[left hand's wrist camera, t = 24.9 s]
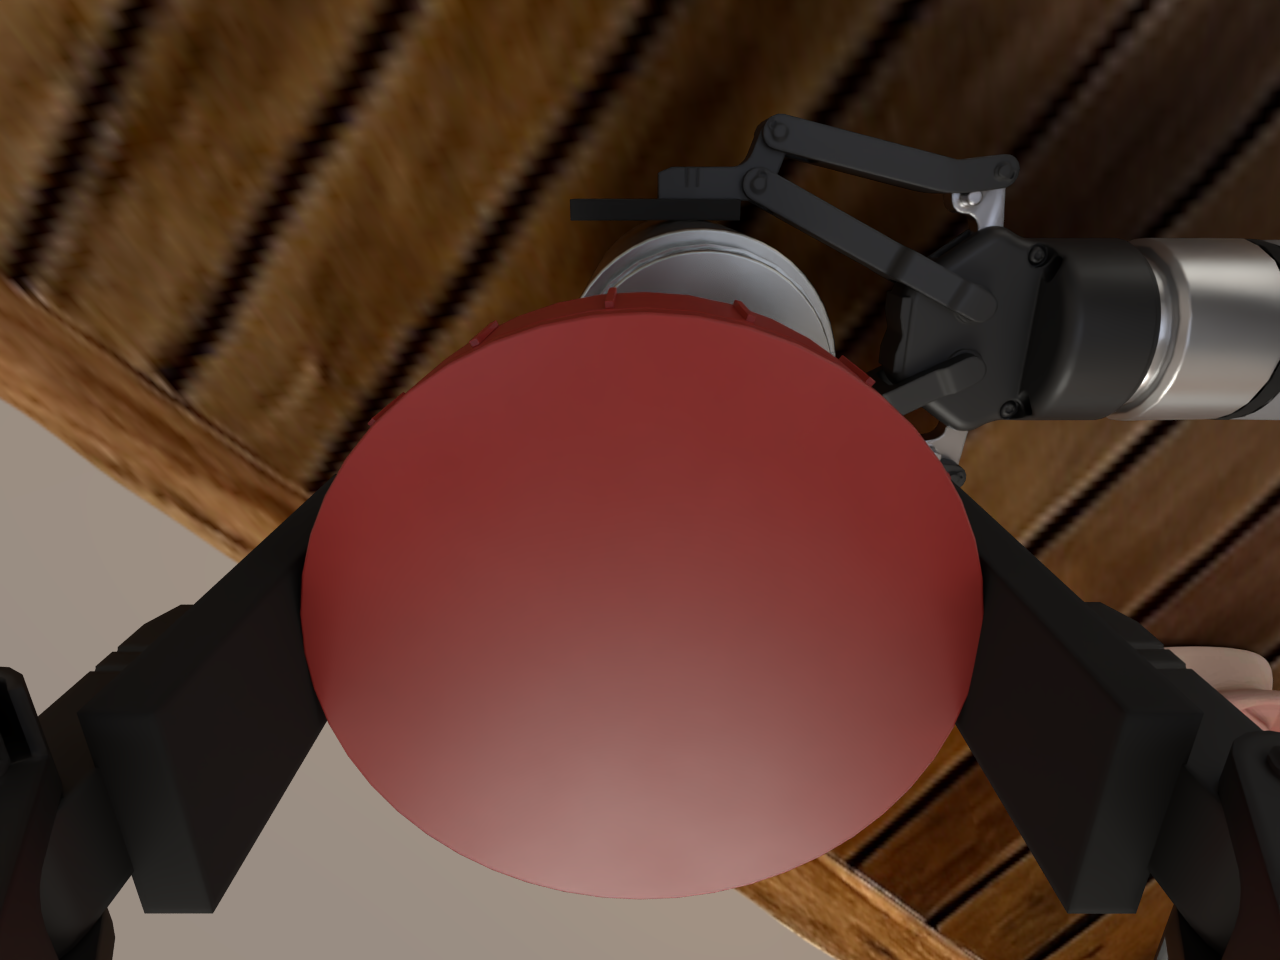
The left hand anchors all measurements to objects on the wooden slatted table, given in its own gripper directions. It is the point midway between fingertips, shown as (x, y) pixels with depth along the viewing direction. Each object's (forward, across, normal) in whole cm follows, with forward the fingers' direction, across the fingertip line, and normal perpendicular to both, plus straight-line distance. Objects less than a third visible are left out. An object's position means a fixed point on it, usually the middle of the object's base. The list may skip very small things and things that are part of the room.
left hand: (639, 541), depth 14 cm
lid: (-3, 0, 0) cm, 3 cm away
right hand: (+19, -3, +1) cm, 19 cm away
